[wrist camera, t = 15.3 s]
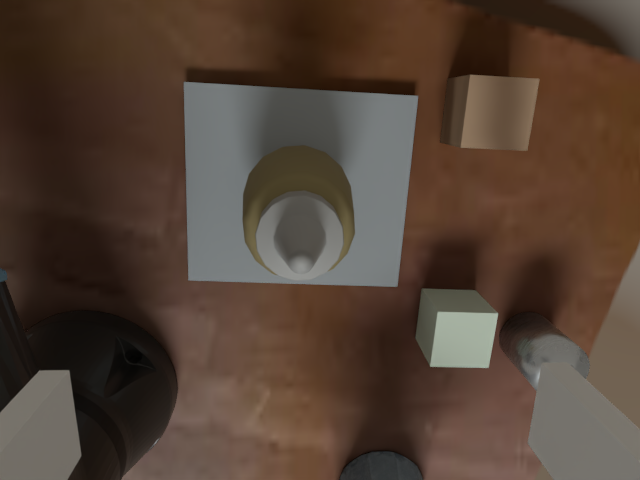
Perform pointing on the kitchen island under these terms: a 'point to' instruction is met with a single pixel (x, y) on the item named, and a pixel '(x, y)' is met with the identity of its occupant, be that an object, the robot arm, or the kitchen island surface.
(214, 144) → the light grey rectangular plate
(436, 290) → the sage block
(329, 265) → the squeeze bottle
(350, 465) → the moka pot
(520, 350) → the grey metal cylinder
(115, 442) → the robot arm
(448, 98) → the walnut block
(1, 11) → the kitchen island surface
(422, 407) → the kitchen island surface
